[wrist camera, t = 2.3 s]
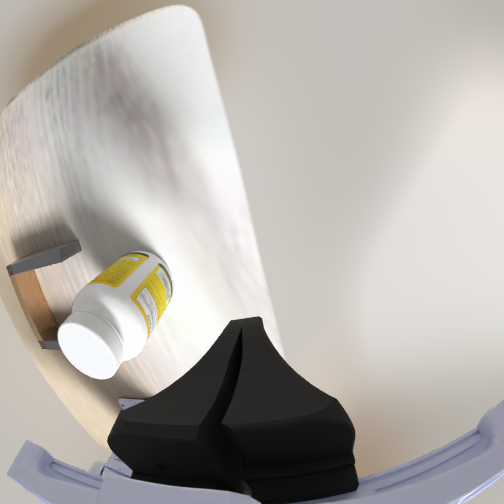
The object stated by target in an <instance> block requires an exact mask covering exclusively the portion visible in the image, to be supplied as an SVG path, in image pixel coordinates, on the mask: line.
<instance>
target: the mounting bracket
mask: <svg viewBox="0 0 504 504" xmlns="http://www.w3.org/2000/svg"><path fill="white" fill-rule="evenodd" d="M80 251H81V247H80V244H79V241H78V240H75V241H72V242H69V243H66V244H62V245H59V246H56V247H53V248H49V249H46V250H43V251H40V252H37V253H34V254H31V255H28V256H25V257H23V258H21V259H19V260H17V261H15V262H14V263H12V264H10V265H8V266H6V267H7V270H8V273H9V276H10V279H11V282H12V284H13V287H14V289H15V292H16V294H17V297H18V299H19V302H20V304H21V306H22V309H23V311H24V313H25V315H26V317H27V320H28V322H29V324H30V326H31V328H32V330H33V332H34V334H35V336H36V338H37V340H38V341H39V343H40V345H41V347H42V349H59V350H61V347H60V345H59V342H58V330H59V327H57V325H56V322H55V320H54V318H53V316H52V314H51V312H50V309H49V307H48V305H47V303H46V300H45V298H44V295H43V293H42V290H41V288H40V285H39V283H38V280H37V277H36V275H35V272H34V269H37V268H41V267H45V266H48V265H52V264H56V263H60V262H63V261H64V260H66V259H68V258H70V257H71V256H73V255H75V254H76V253H78V252H80Z"/></svg>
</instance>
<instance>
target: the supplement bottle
mask: <svg viewBox="0 0 504 504" xmlns="http://www.w3.org/2000/svg"><path fill="white" fill-rule="evenodd" d="M173 289H174V285H173V278H172V275H171V273H170V271H169V269H168V267H167V266H166V265H165V263H164V262H163V261H162V260H161V259H159V258H158V257H157V256H155V255H153V254H151V253H149V252H145V251H132V252H129V253H127V254H125V255H124V256H122V257H121V258H120V259H118V260H117V261H116V262H114V263H113V264H112V265H111V266H110V267H108V268H107V269H106V270H105V271H103V272H102V273H101V274H100V275H98V276H97V277H96V278H95V279H94V280H92V281H91V282H90V283H89V284H87V285H86V286H85V287H84V288H83V289H82V290H81V291H80V292H79V293H78V294H77V295H76V297H75V299H74V301H73V305H72V314H71V315H70V316H69V317H68V318H67V319H66V320H65V321H64V322H63V323H62V324H61V326H60V327H59V330H58V342H59V345H60V347H61V350H62V351H63V353H64V355H65V356H66V358H67V359H68V360H69V361H70V362H71V364H72V365H74V366H75V367H76V368H77V369H78V370H80V371H81V372H82V373H84V374H86V375H88V376H90V377H93V378H96V379H108V378H110V377H112V376H113V375H114V374H115V372H116V371H117V369H118V368H119V366H120V364H121V363H122V361H125V360H129V359H132V358H134V357H135V356H137V355H138V354H139V353H140V352H141V350H142V349H143V347H144V346H145V344H146V342H147V340H148V339H149V337H150V335H151V333H152V332H153V330H154V328H155V326H156V324H157V323H158V321H159V319H160V318H161V316H162V314H163V312H164V310H165V309H166V307H167V305H168V303H169V302H170V299H171V297H172V294H173Z"/></svg>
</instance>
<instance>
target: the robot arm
mask: <svg viewBox="0 0 504 504" xmlns="http://www.w3.org/2000/svg"><path fill="white" fill-rule="evenodd" d="M118 403H119V404H120V406H121V407H122V408H123V410H122V411H120V413H119V415H118V417H117V419H116V421H115V423H114V425H113V428H112V430H111V432H110V434H109V436H108V440H107V442H108V445H109V447H110V449H111V450H112V451H113V452H112V455H111V457H109V459H108V461H107V463H106V466H105V462H103V461H99V462H94V463H93V465H92V467H91V469H90V471H89V472H88V471H85V470H82V469H79V468H77V467H74V466H71V465H68V464H66V463H64V462H61V461H59V460H57V459H54V458H53V456H52V455H51V454H50V453H49V452H48V451H46V450H45V449H44V448H43V447H41V446H39V445H37V444H35V443H33V442H31V441H29V440H26V442H25V443H24V445H23V446H22V448H21V450H20V451H19V453H18V455H17V457H16V458H15V460H14V462H13V463H12V465H11V467H10V469H9V470H8V472H7V475H8V476H9V477H10V478H11V479H13V480H14V481H15V482H16V483H17V484H18V485H20V486H21V487H22V488H24V489H25V490H26V491H27V492H29V493H30V494H32V495H33V496H34V497H36V498H37V499H38V500H40V501H41V502H43V503H44V504H464V503H465V502H467V501H468V500H470V499H472V498H473V497H475V496H476V495H478V494H479V493H480V492H482V491H483V490H485V489H486V488H488V487H489V486H490V485H492V484H493V483H494V482H496V481H497V480H498V479H499V478H501V477H502V476H503V475H504V400H503V401H501V402H500V403H499V404H497V405H496V406H494V407H493V408H491V409H490V410H489V411H488V412H487V413H486V414H485V415H484V416H483V417H482V418H481V420H480V421H479V423H478V425H477V427H476V428H474V429H472V430H471V431H469V432H467V433H466V434H464V435H462V436H460V437H459V438H457V439H455V440H453V441H451V442H450V443H448V444H446V445H444V446H442V447H440V448H438V449H436V450H434V451H431V452H429V453H427V454H425V455H423V456H421V457H418V458H416V459H414V460H411V461H408V462H406V463H403V464H401V465H398V466H396V467H393V468H390V469H387V470H384V471H381V472H378V473H375V474H372V475H368V476H365V477H362V478H357V473H356V470H355V465H354V464H355V458H354V455H353V446H354V441H355V429H354V426H353V424H352V422H351V420H350V418H349V416H348V415H347V413H346V411H345V410H344V408H343V407H342V405H341V404H340V403H339V401H338V400H337V399H336V398H334V397H332V396H330V395H328V394H326V393H324V392H323V391H321V390H319V389H318V388H316V387H315V386H313V385H312V384H310V383H309V382H308V381H306V380H305V379H304V378H303V377H301V376H300V375H299V374H297V373H296V372H295V371H294V370H293V369H292V368H291V367H290V366H289V365H288V364H287V362H286V361H285V360H284V359H283V358H282V357H281V356H280V354H279V353H278V352H277V350H276V349H275V347H274V346H273V344H272V343H271V341H270V339H269V338H268V336H267V334H266V332H265V330H264V326H263V321H262V318H261V317H259V316H258V317H251V318H245V319H238V320H231V321H230V322H229V324H228V325H227V326H226V328H225V329H224V330H223V332H222V333H221V335H220V336H219V337H218V339H217V340H216V341H215V343H214V344H213V345H212V347H211V348H210V349H209V350H208V351H207V353H206V354H205V355H204V356H203V357H202V358H201V359H200V360H199V361H198V362H197V363H196V364H195V365H194V366H193V367H192V368H191V369H190V370H189V371H188V372H187V373H186V374H184V375H183V376H182V377H181V378H179V379H178V380H177V381H175V382H174V383H173V384H171V385H170V386H168V387H167V388H166V389H164V390H162V391H161V392H159V393H157V394H156V395H154V396H152V397H150V398H149V399H147V400H138V399H123V398H119V399H118Z"/></svg>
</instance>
